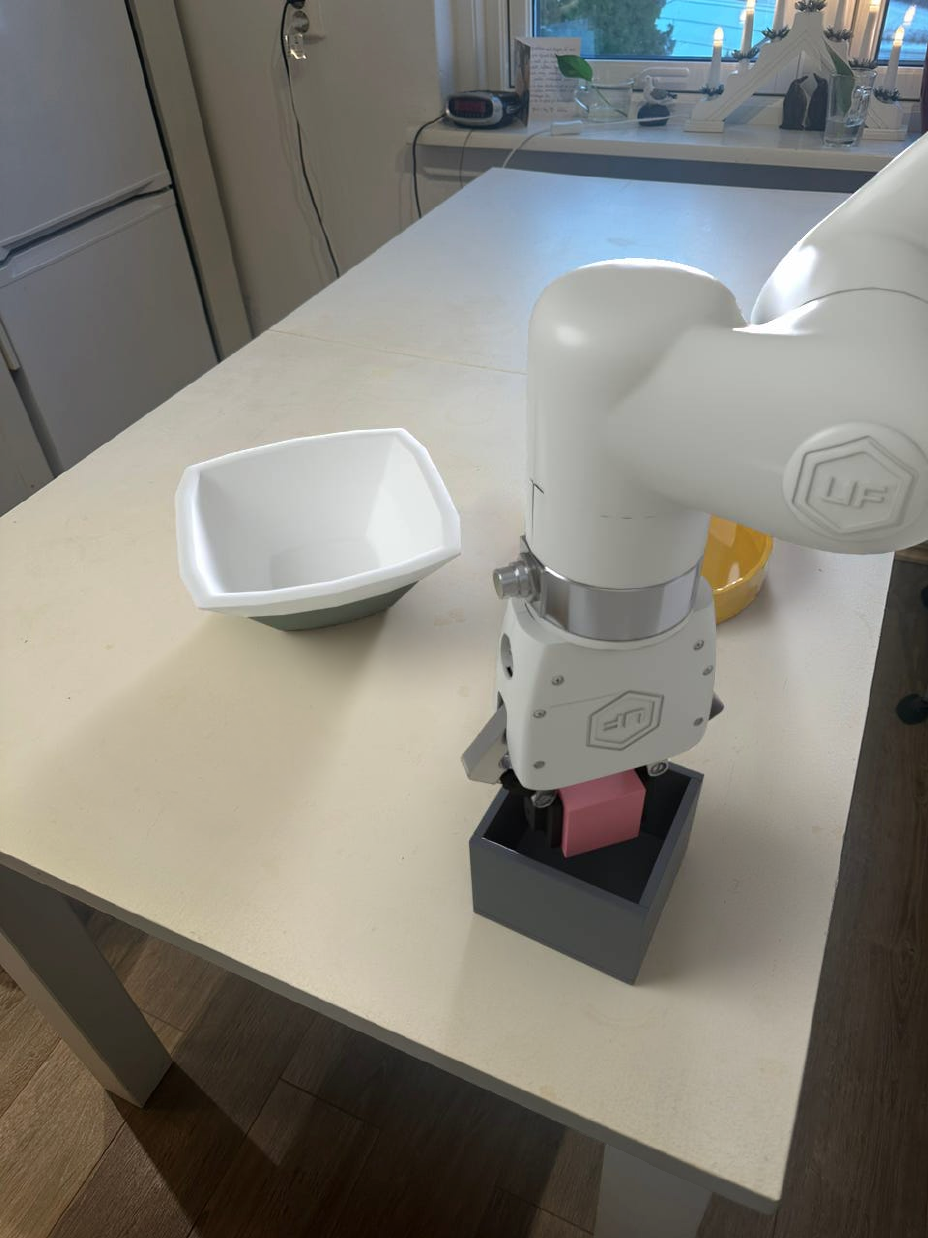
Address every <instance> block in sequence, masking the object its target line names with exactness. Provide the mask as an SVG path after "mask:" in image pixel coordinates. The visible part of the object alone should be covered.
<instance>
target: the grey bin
mask: <svg viewBox="0 0 928 1238" xmlns="http://www.w3.org/2000/svg"><path fill="white" fill-rule="evenodd" d="M668 764H669V767H668V769H667V770H666V771H665V772H664V773H662V774H661V775H658V776H656V779H655V785H654V790H653V796H652V797H651V798H649V804H648V810H647V816H646V821H645V822H643V823H640V827H639V833H638V837H635V838H632V839H629V840H625V841H622V842H618V843H615V844H612V845H608V846H605V847H601V848H598V849H595V850H591V851H588V852H584V853H581V854H578V855H574V856H571V857H567V858H566V857H565V856H564V854H563V851H562V849H561V847H560V845H559V847H557V848H554V849H549V847H548V845H547V843H546V840H545V838H544V836H543V834H542V831H541V829H540V830H537V831H532V829H531V827H530V825H529V823H528V820H527V818H526V814H525V809H524V796H522V795H519V794H516V793H513V792H511V791H508V790H505V789H504V788H503V786H502V785H501V787H500V788H499V790H498V791H497V794H496V795H495V797H494V798H493V800H492V802H491V803H490V805H489V807H488V808H487V809H486V811H485V812H484V814H483V816H482V818H481V820H480V821H479V823H478V825H477V826H476V828H475V829H474V831H473V834H472V835H471V836H470V838H469V840H468V852H469V867H470V882H471V883H470V884H471V895H472V909H473V913H475V914H477V915H480V916H482V917H483V918H486V919H487V920H489V921H492V922H494V923H497V924H498V925H501V926H502V927H504V928H506V929H509V930H511V931H513V932H515V933H518V934H520V935H522V936H524V937H526V938H528V939H531V940H533V941H534V942H537V943H539V944H541V945H543V946H546V947H547V948H549V949H552V950H554V951H556V952H558V953H560V954H563V955H565V956H567V957H569V958H571V959H573V960H575V961H578V962H579V963H581V964H583V965H586V966H588V967H590V968H593V969H594V970H597V971H599V972H601V973H603V974H605V975H608V976H610V977H612V978H614V979H616V980H618V981H620V982H623V983H624V984H627V985H629V986H631V987H633V986H634V984H635V982H636V979H637V977H638V974H639V972H640V969H641V966H642V964H643V961H644V959H645V957H646V954H647V951H648V949H649V946H650V944H651V940H652V938H653V936H654V933H655V931H656V928H657V926H658V923H659V921H660V918H661V916H662V913H663V910H664V908H665V906H666V903H667V901H668V898H669V895H670V893H671V891H672V887H673V885H674V883H675V881H676V878H677V875H678V873H679V871H680V867H681V865H682V863H683V860H684V858H685V855H686V852H687V850H688V847H689V844H690V843H689V842H690V840H691V839H690V838H691V834H692V829H693V825H694V820H695V817H696V813H697V808H698V805H699V800H700V795H701V791H702V787H703V782H704V777H705V773H703V772H700V771H698V770H695V769H692V768H690V767H686V766H684V765H680V764H678V763H675V762H673V761H670V760H668Z"/></svg>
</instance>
